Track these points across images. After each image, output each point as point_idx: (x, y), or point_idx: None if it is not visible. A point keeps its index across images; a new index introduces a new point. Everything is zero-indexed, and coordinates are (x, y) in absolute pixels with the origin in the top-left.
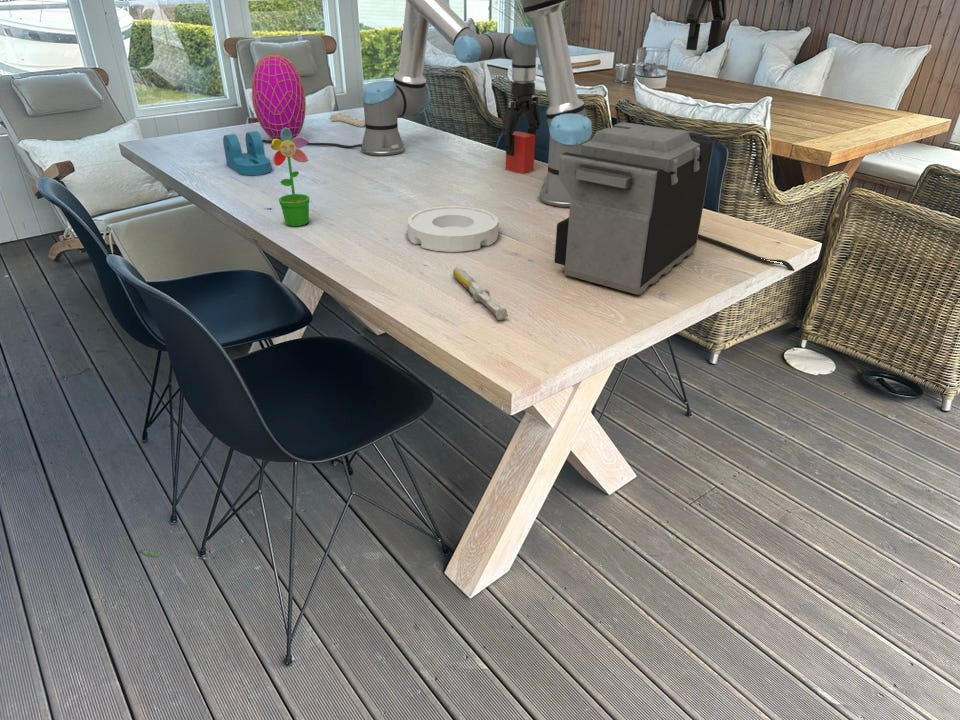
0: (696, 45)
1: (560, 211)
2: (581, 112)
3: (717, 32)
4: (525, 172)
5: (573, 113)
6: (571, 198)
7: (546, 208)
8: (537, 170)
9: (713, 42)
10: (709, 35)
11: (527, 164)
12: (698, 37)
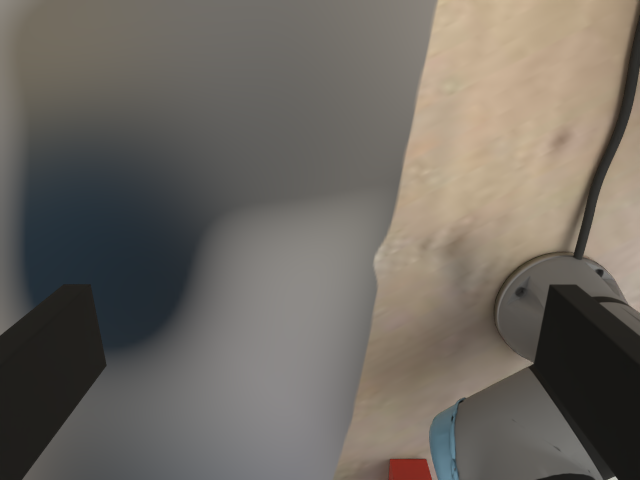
0: (589, 305)
1: (633, 271)
2: (557, 469)
3: (8, 376)
4: (420, 460)
5: (587, 477)
6: (611, 277)
7: (629, 302)
8: (384, 454)
9: (79, 335)
10: (58, 427)
11: (417, 473)
12: (620, 349)
